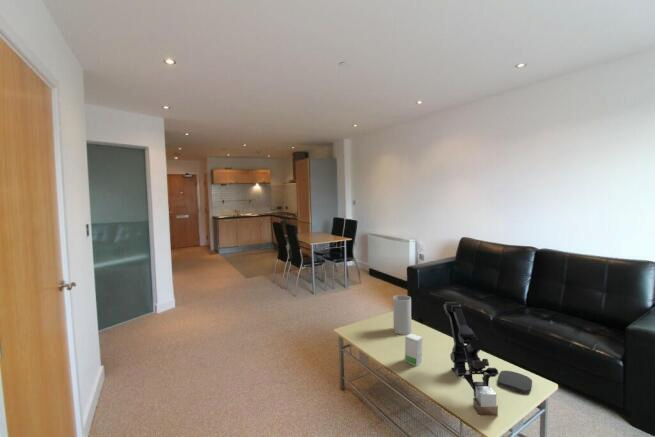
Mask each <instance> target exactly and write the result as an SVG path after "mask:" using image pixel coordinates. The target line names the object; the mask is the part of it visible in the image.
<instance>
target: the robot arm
mask: <svg viewBox="0 0 655 437" xmlns="http://www.w3.org/2000/svg"><path fill="white" fill-rule="evenodd" d="M443 309H444V311H445V315H446V316H447V317H448V319H449V322H450V323H449V324H450V328H451V333H452V339H453V347H452V350H451V351H452V352H451V353H450V360H451V362H452V363H453V367H451V370H452V371H453V372H454V375H455V377H456V378H459V377H460V378H462V379H463V380H466V382H467V383H468V384H469V386H470V387H471V388H472V390H473V393H474V392H476V388H475V385H474V382H475V381H474V379H473V375H482V377H481V378H482V382H485V383H486V384H487V386H489V383H490V382H489V381H490V378H494V377H496V376H499V374H500V372H499V371H498V368H496V367H489V366H490V363H489V360H488V358H482V360H481V358H480V357H479V352H481V350H482V349H483V347H484V344H483V342H482V341H481V339H479V338H477V336H476V334H475V333H474V331H473V329H472V328H470V327H469V326H468V323H467V320H466V318H465V316H464V315H465V314H464V313H463V307H462V304H460V303H458V302H457V301H446V302H445V303H444V304H443ZM466 364H467V366H468V369H467V368H466ZM487 367H488V368H487Z"/></svg>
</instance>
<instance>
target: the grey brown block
mask: <svg viewBox="0 0 655 437" xmlns="http://www.w3.org/2000/svg"><path fill="white" fill-rule="evenodd" d="M472 400H473V401H472V404H473V405H472V406H473V407H472V408H473V410H474V411H475V412H476V414H477V416H478V415H480V417H481V416H482V417H485V416H487V417H488V416H489V417H491V416H492V417H498V416H499V415H498V414H499V412H498V411H499V410H498V409H499V406H498V405H497V393H496V392H495V391H494V389H493V388H492V387H491V386H489V385H488V386H476V398H475V397H473V398H472Z"/></svg>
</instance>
